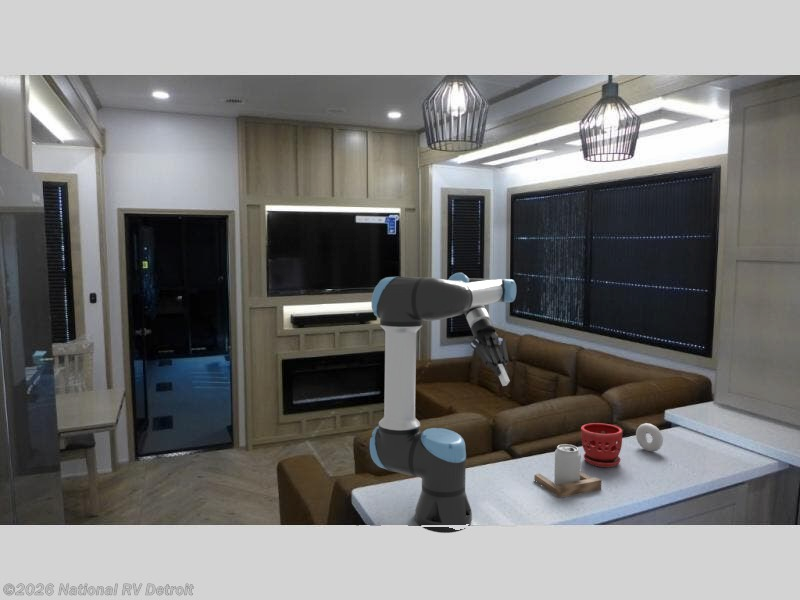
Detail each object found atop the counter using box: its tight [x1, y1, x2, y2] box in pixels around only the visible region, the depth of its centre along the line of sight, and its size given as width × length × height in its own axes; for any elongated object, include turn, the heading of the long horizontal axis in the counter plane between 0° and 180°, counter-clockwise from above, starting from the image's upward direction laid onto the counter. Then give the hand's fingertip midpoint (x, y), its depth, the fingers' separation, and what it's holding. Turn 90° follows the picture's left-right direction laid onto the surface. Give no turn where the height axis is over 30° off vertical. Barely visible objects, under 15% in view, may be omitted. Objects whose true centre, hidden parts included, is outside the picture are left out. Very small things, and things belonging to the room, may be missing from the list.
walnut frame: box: [533, 470, 602, 499], centre depth 162 cm, size 15×12×3 cm
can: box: [553, 443, 581, 485], centre depth 161 cm, size 8×8×12 cm
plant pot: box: [580, 422, 623, 468], centre depth 179 cm, size 13×13×12 cm
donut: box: [635, 422, 664, 453], centre depth 188 cm, size 10×3×10 cm, turn 30°
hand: (506, 383), depth 166 cm, fingers closed
